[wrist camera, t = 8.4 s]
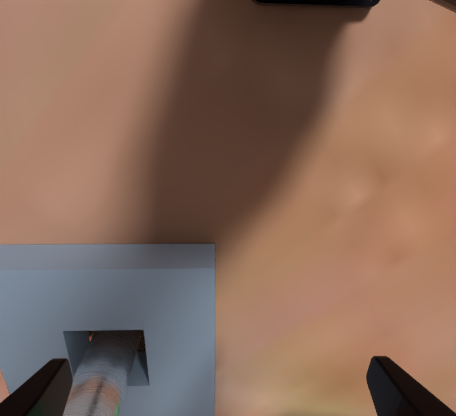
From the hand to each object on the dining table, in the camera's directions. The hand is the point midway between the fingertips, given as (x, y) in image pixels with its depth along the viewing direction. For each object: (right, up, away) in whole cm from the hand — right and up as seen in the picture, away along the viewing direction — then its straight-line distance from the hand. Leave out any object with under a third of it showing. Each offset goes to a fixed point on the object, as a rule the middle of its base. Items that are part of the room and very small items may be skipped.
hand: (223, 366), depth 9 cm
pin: (-8, -4, +14) cm, 17 cm away
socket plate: (-8, -4, +14) cm, 17 cm away
